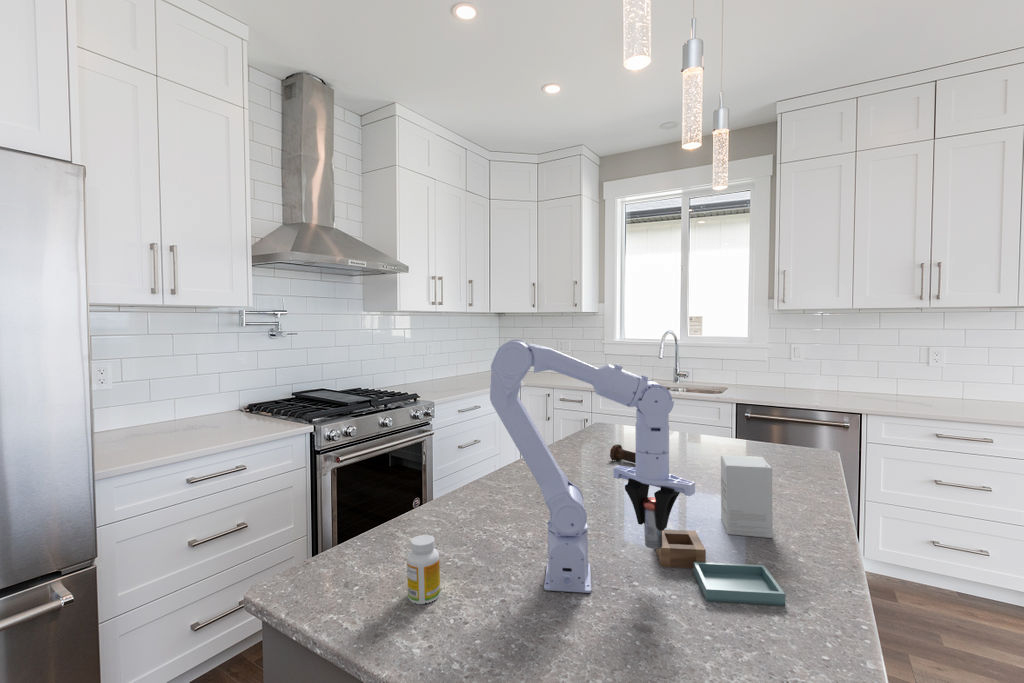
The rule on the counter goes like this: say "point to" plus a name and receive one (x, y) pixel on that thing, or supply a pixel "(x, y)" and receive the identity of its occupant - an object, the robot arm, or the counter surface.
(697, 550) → the bore block
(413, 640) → the counter surface
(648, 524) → the red capped cylinder
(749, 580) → the tray
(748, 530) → the supplement box
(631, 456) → the bolt
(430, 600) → the supplement bottle
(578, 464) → the counter surface
